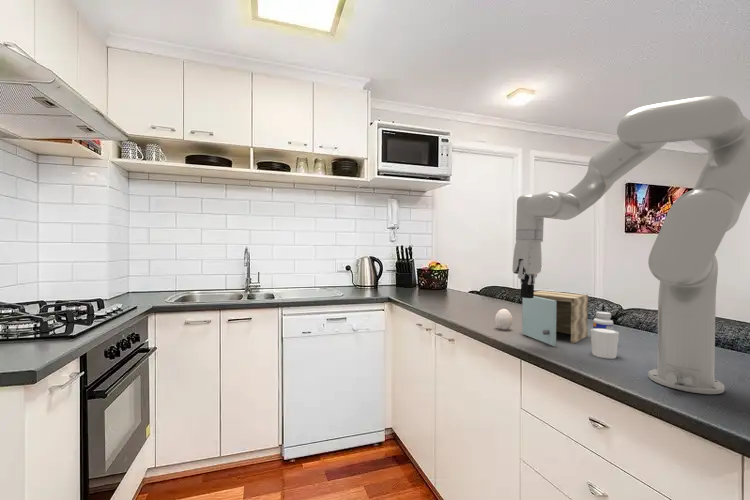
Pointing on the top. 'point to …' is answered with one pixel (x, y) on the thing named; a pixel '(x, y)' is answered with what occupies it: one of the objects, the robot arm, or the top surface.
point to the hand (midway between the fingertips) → (527, 297)
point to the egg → (503, 319)
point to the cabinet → (569, 313)
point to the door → (539, 319)
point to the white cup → (604, 342)
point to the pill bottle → (603, 321)
